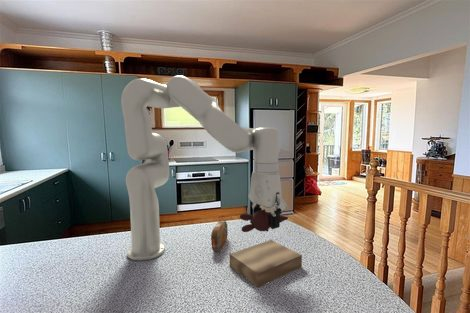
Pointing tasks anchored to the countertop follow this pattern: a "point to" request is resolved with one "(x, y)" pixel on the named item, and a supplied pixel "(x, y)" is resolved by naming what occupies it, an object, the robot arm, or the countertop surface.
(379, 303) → the countertop surface
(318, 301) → the countertop surface
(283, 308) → the countertop surface
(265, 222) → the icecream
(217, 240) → the tin
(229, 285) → the countertop surface
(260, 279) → the base
